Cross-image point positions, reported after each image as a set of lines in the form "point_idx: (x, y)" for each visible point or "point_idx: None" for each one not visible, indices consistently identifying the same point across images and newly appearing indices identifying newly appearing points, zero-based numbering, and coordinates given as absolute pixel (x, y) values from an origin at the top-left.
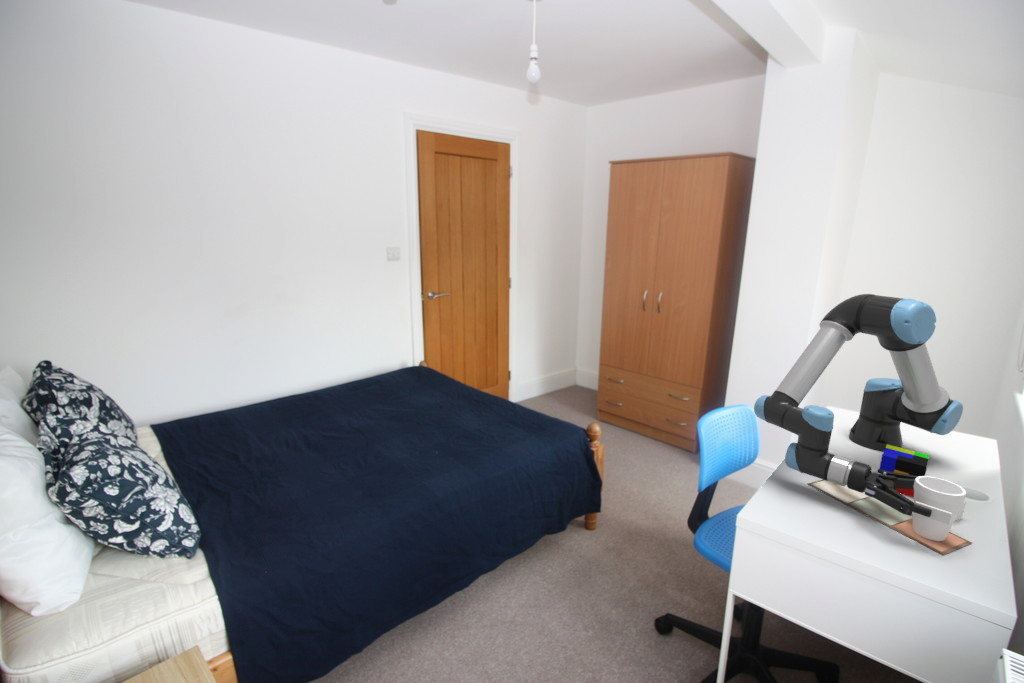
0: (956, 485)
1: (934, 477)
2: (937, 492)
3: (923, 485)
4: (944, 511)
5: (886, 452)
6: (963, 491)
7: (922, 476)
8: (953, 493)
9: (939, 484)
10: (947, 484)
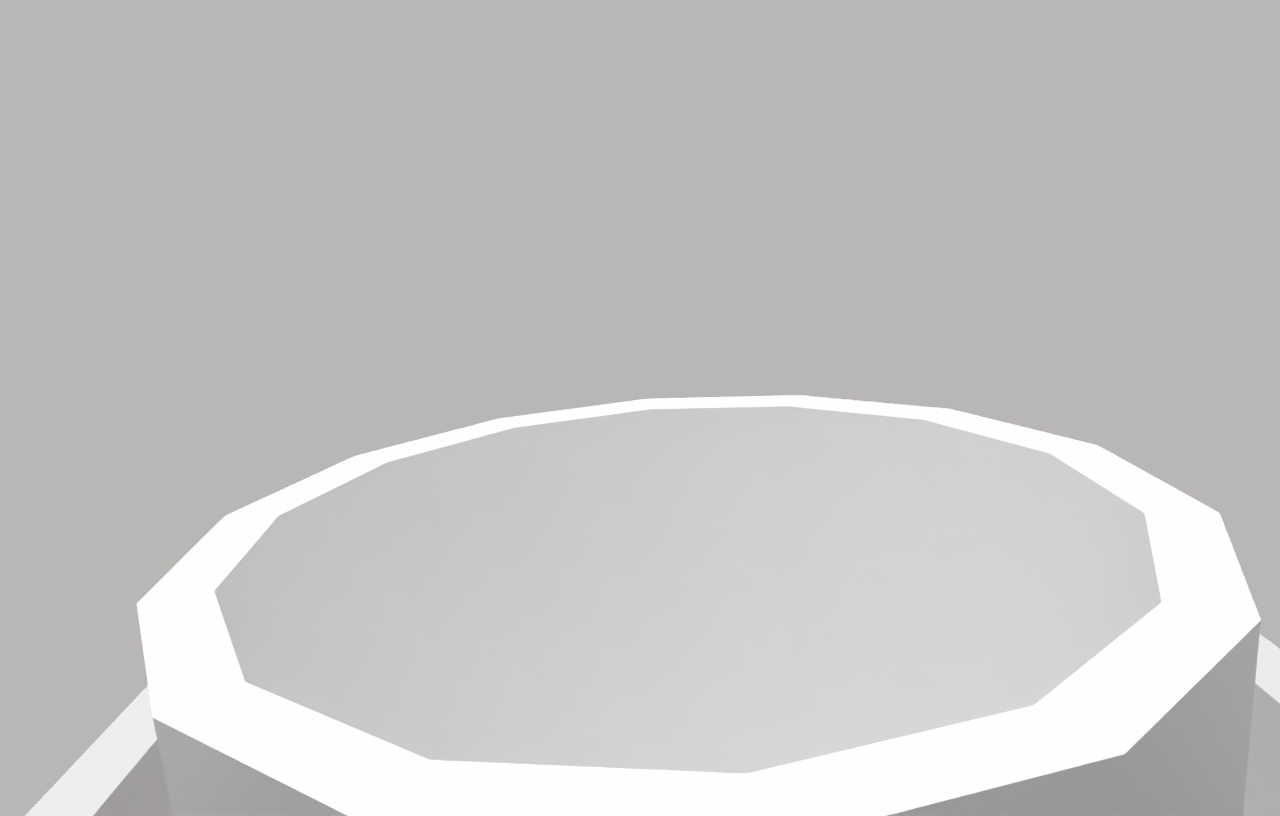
0: (419, 452)
1: (164, 617)
2: (1157, 492)
3: (1154, 625)
4: (1271, 654)
5: None
6: (623, 410)
7: (295, 752)
8: (439, 624)
9: (282, 681)
10: (315, 566)
